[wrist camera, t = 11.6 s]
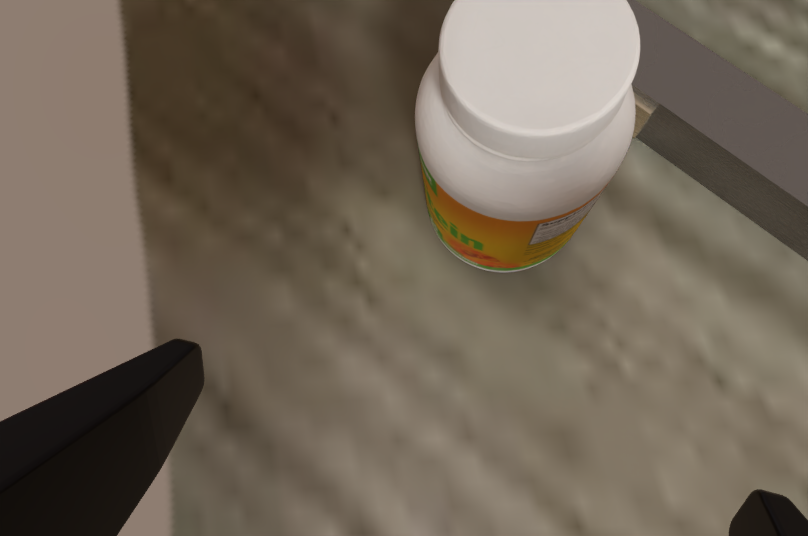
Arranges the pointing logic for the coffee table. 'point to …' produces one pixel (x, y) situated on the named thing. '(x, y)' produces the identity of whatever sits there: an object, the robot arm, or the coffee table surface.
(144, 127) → the coffee table surface
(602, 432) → the coffee table surface
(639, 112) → the price rail
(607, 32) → the supplement bottle
